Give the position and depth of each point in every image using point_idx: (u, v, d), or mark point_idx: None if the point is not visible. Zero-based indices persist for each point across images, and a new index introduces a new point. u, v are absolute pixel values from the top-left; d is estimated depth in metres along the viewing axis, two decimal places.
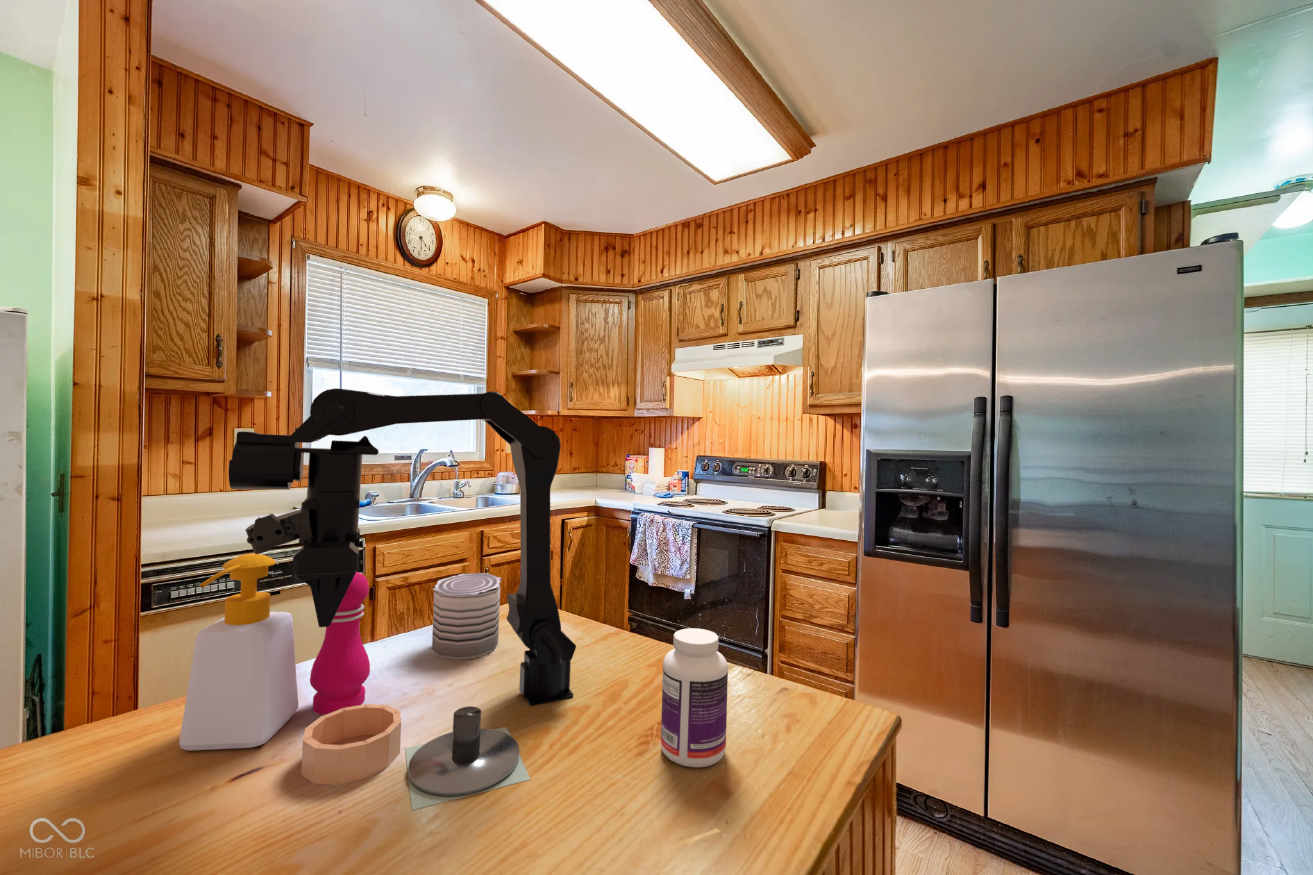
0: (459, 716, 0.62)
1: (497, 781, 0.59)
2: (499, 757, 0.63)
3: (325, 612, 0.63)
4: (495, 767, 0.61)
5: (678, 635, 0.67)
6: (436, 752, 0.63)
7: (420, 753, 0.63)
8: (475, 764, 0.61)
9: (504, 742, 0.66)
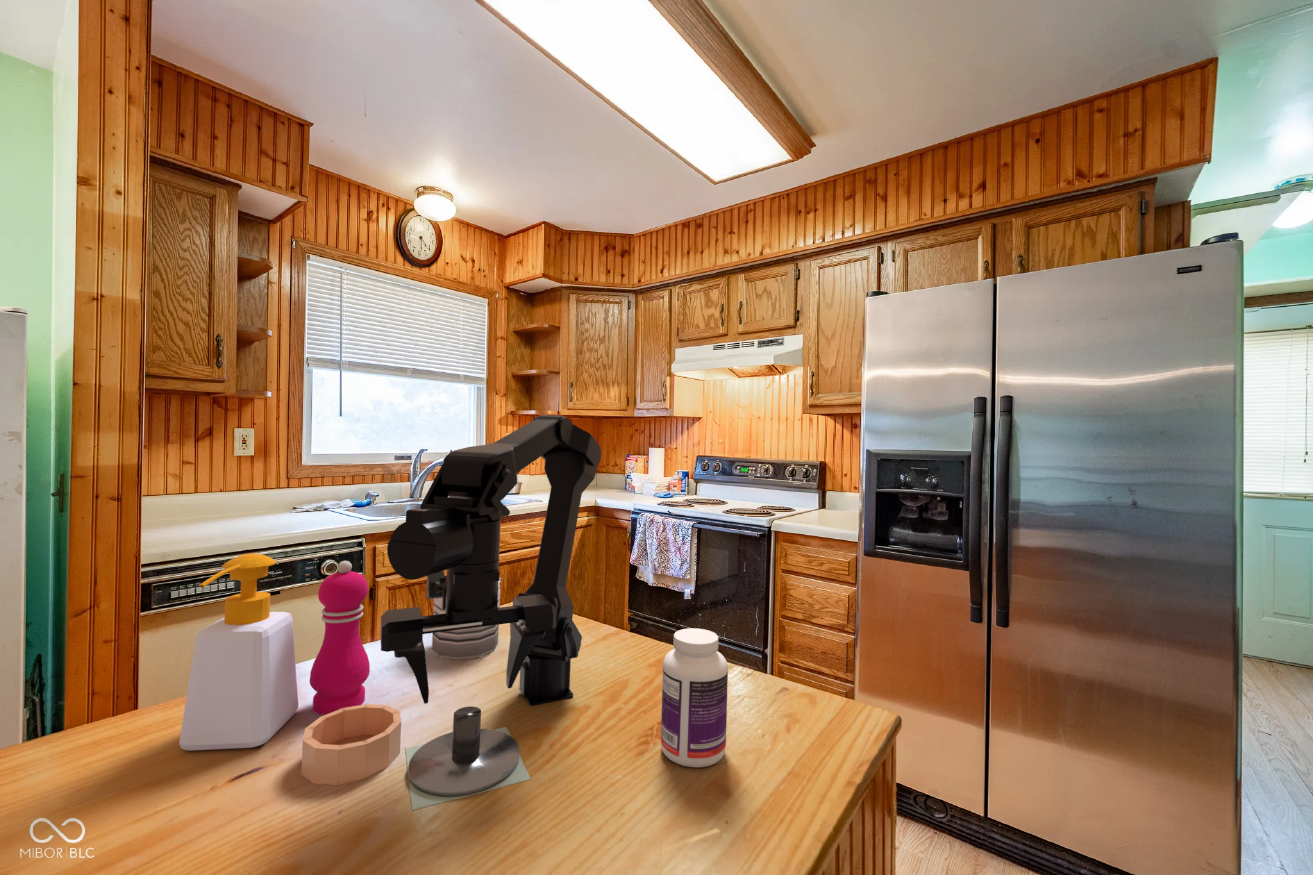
0: (459, 716, 0.62)
1: (497, 781, 0.59)
2: (499, 757, 0.63)
3: None
4: (495, 767, 0.61)
5: (678, 636, 0.67)
6: (436, 752, 0.63)
7: (420, 753, 0.63)
8: (475, 764, 0.61)
9: (504, 742, 0.66)
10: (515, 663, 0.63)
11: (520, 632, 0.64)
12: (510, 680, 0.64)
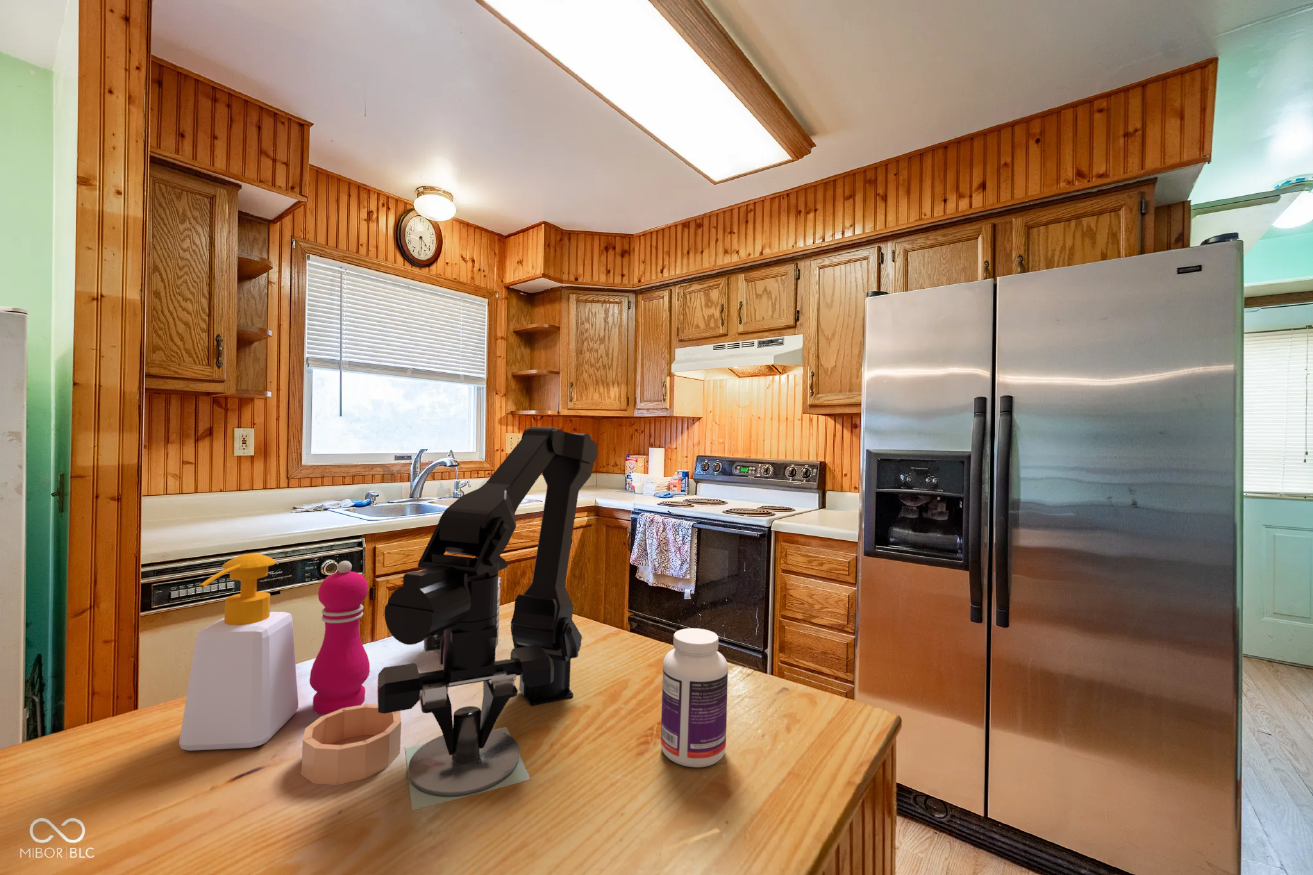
0: (459, 716, 0.62)
1: (497, 781, 0.59)
2: (499, 757, 0.63)
3: None
4: (495, 767, 0.61)
5: (678, 635, 0.67)
6: (436, 752, 0.63)
7: (420, 753, 0.63)
8: (475, 764, 0.61)
9: (504, 742, 0.66)
10: (487, 723, 0.62)
11: (492, 691, 0.62)
12: (482, 740, 0.63)
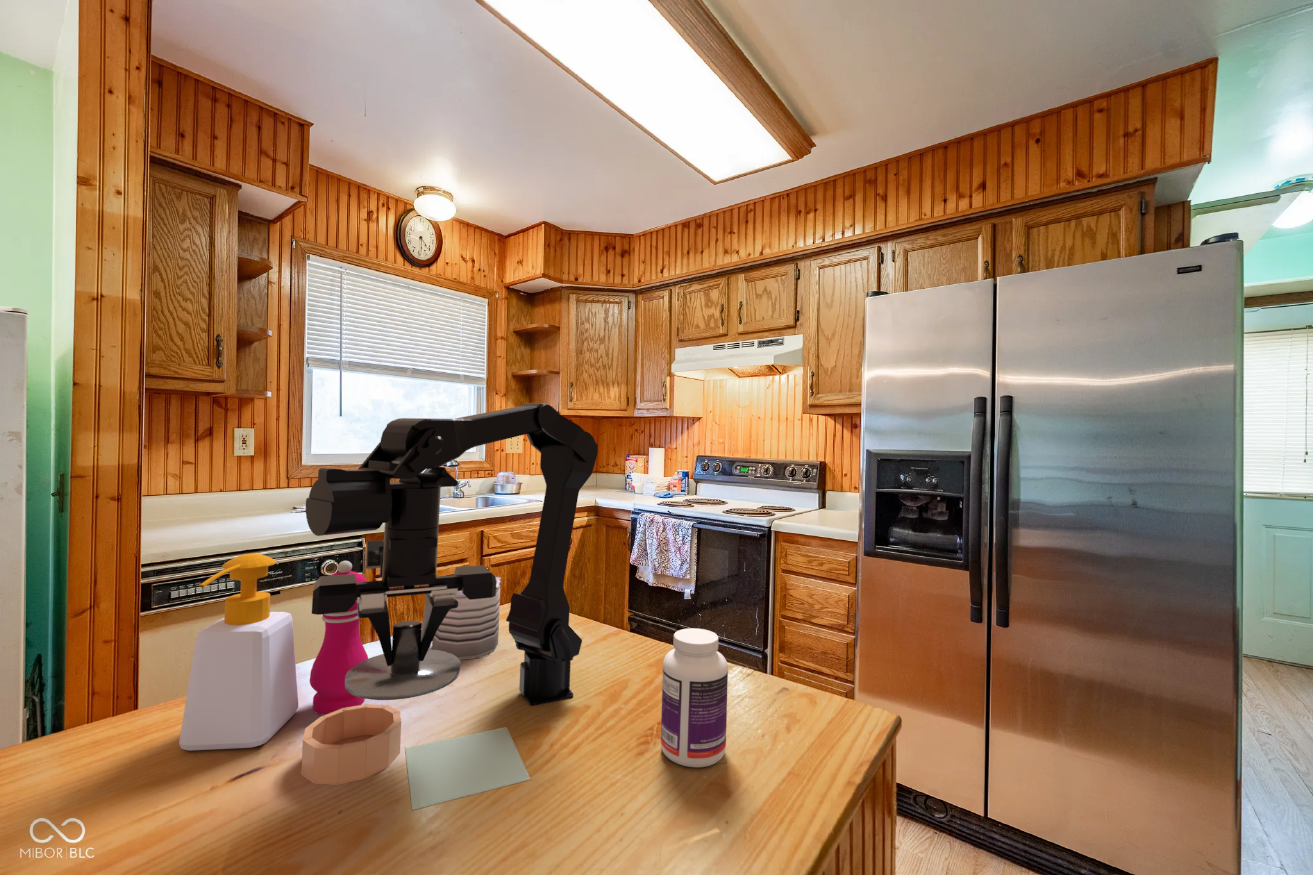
0: (399, 627, 0.62)
1: (435, 687, 0.59)
2: (439, 669, 0.62)
3: None
4: (434, 676, 0.61)
5: (678, 636, 0.67)
6: (375, 665, 0.63)
7: (358, 666, 0.62)
8: (414, 674, 0.61)
9: (446, 659, 0.66)
10: (426, 635, 0.62)
11: (432, 603, 0.62)
12: (421, 652, 0.62)
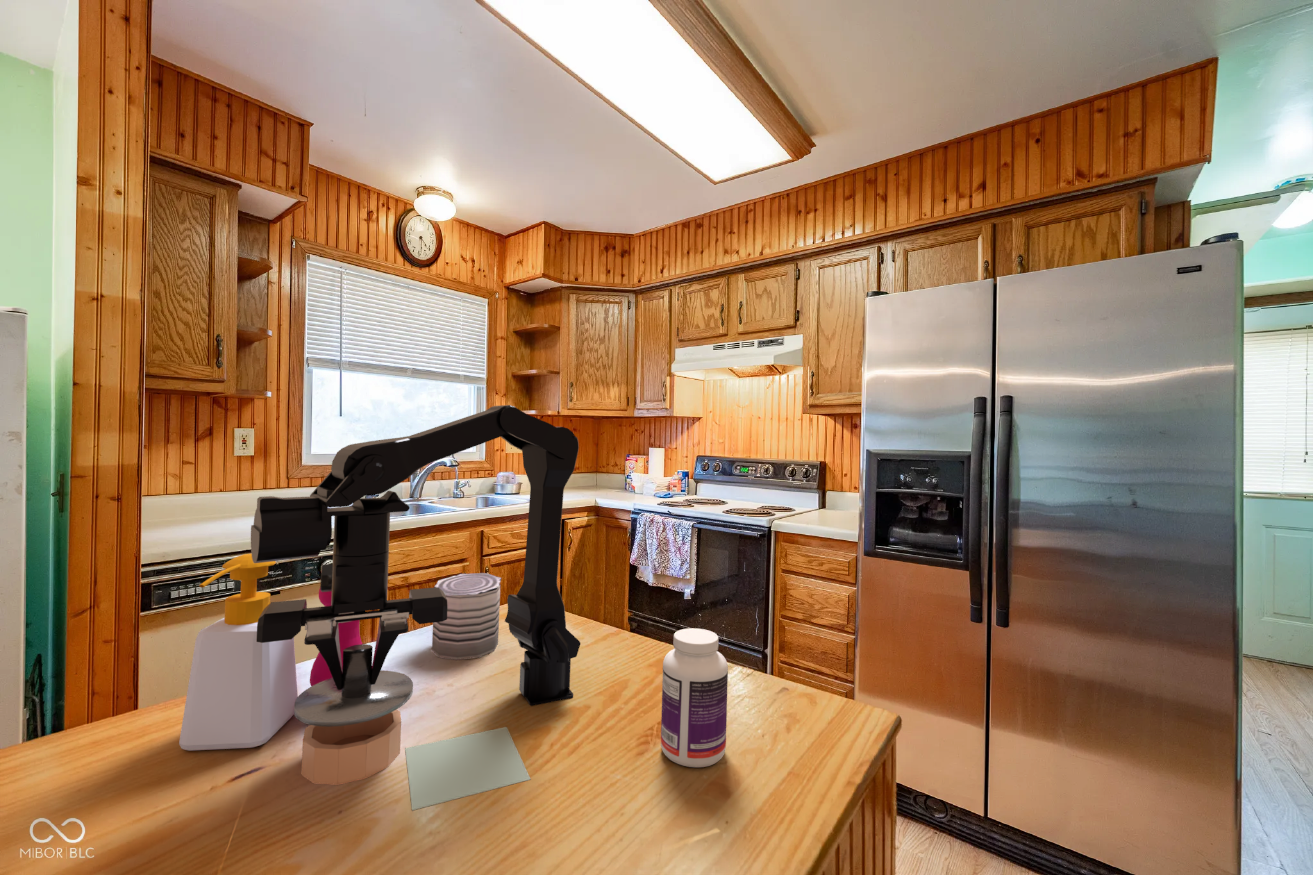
0: (348, 652, 0.62)
1: (381, 713, 0.59)
2: (389, 693, 0.63)
3: None
4: (382, 701, 0.61)
5: (678, 636, 0.67)
6: (328, 689, 0.64)
7: (311, 689, 0.63)
8: (363, 699, 0.61)
9: (400, 681, 0.66)
10: (376, 659, 0.62)
11: (382, 628, 0.63)
12: (372, 676, 0.63)
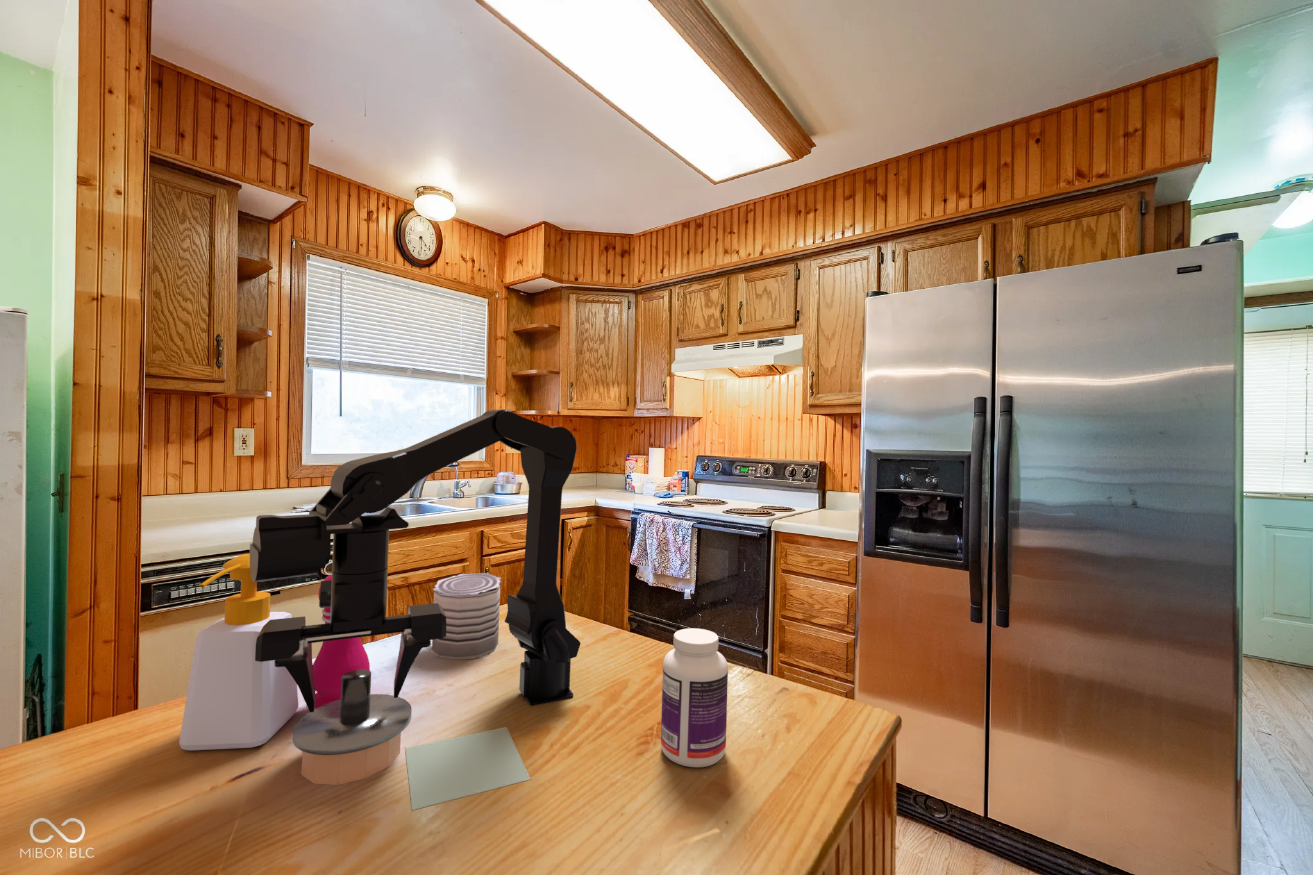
0: (347, 678, 0.62)
1: (380, 740, 0.59)
2: (388, 719, 0.63)
3: None
4: (381, 728, 0.61)
5: (678, 636, 0.67)
6: (326, 714, 0.63)
7: (309, 715, 0.63)
8: (361, 725, 0.61)
9: (398, 706, 0.66)
10: (399, 673, 0.64)
11: (405, 642, 0.64)
12: (395, 690, 0.64)
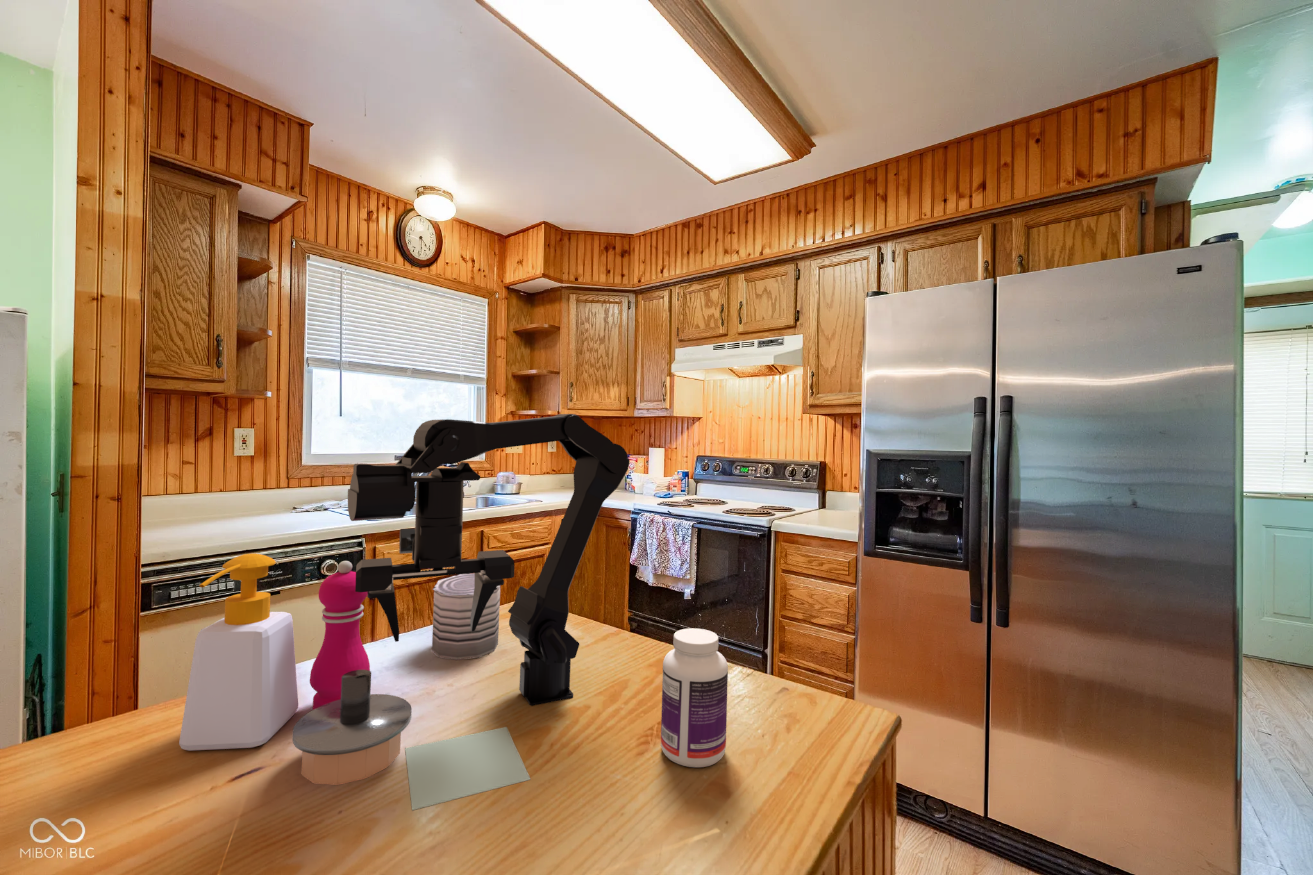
0: (347, 678, 0.62)
1: (380, 740, 0.59)
2: (388, 719, 0.63)
3: None
4: (381, 728, 0.61)
5: (678, 636, 0.67)
6: (326, 714, 0.63)
7: (309, 715, 0.63)
8: (361, 725, 0.61)
9: (398, 706, 0.66)
10: (477, 608, 0.71)
11: (482, 581, 0.72)
12: (473, 624, 0.72)
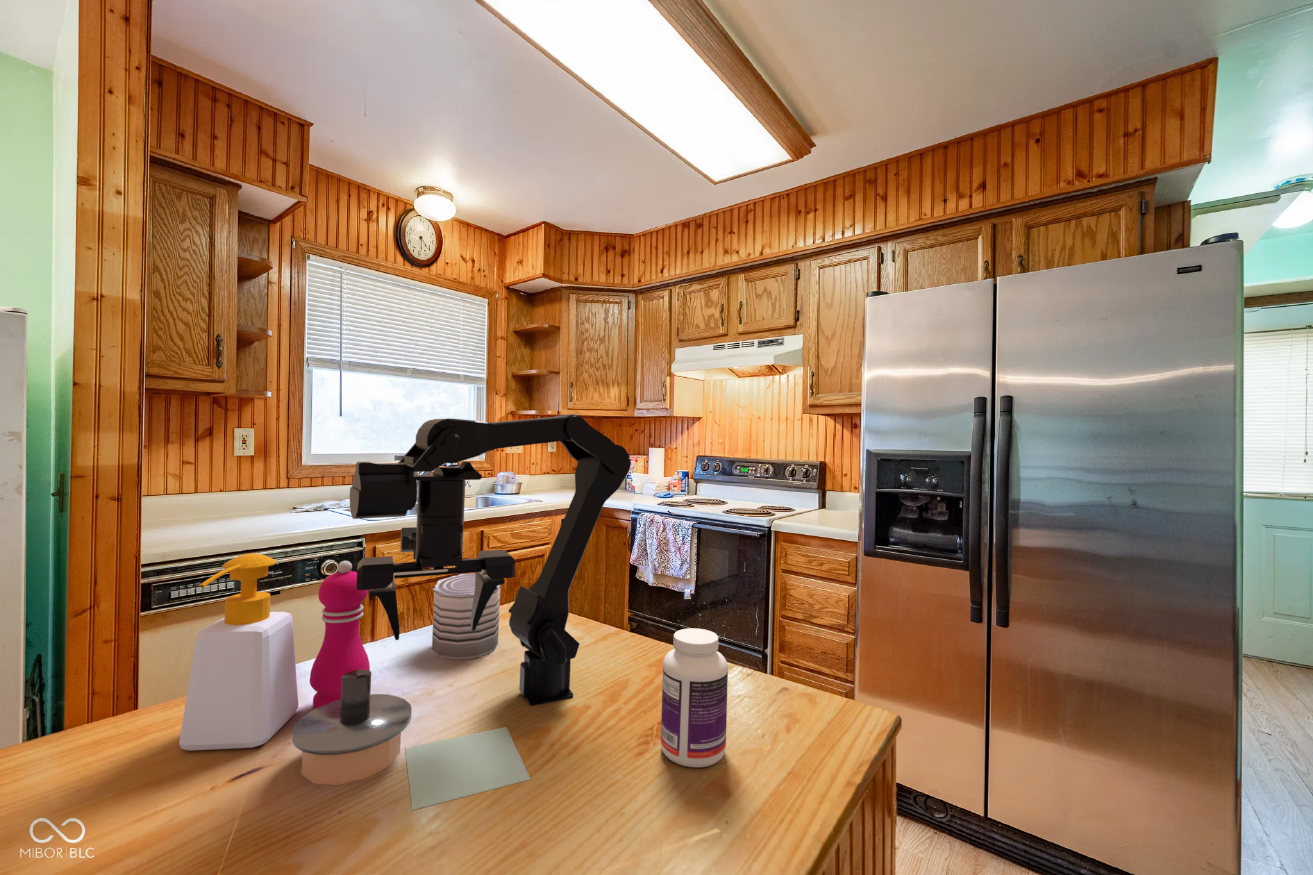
0: (347, 678, 0.62)
1: (380, 740, 0.59)
2: (388, 719, 0.63)
3: None
4: (381, 728, 0.61)
5: (678, 636, 0.67)
6: (326, 714, 0.63)
7: (309, 715, 0.63)
8: (361, 725, 0.61)
9: (398, 706, 0.66)
10: (478, 607, 0.71)
11: (482, 580, 0.72)
12: (473, 623, 0.72)
